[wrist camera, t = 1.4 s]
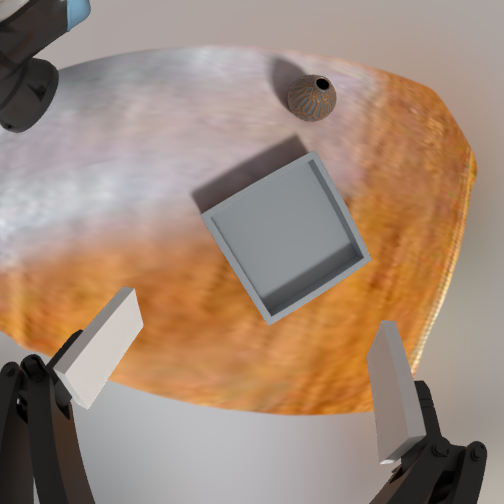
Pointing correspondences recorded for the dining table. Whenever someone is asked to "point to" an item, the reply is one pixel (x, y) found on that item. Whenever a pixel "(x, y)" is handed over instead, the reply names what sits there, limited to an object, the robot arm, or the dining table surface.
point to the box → (288, 237)
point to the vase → (311, 98)
